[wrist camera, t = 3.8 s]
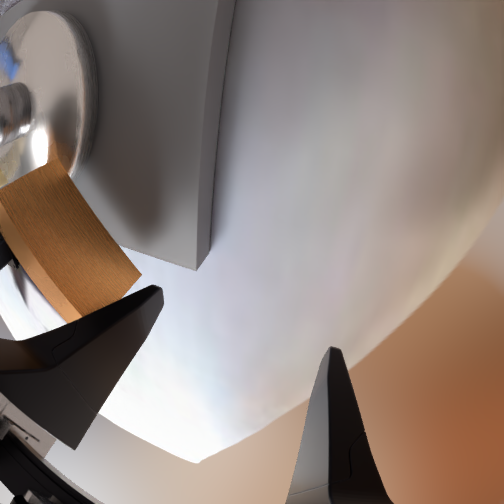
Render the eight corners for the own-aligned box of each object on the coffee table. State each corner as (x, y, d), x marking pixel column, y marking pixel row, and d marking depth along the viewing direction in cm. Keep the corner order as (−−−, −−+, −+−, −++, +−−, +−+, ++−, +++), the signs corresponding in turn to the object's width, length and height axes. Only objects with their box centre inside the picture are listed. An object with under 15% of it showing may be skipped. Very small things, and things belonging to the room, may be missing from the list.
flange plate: (16, 215, 15) (-28, 249, 11) (4, 34, 7) (-57, 51, 3) (157, 281, 14) (103, 350, 10) (180, -25, 5) (78, -60, 2)
